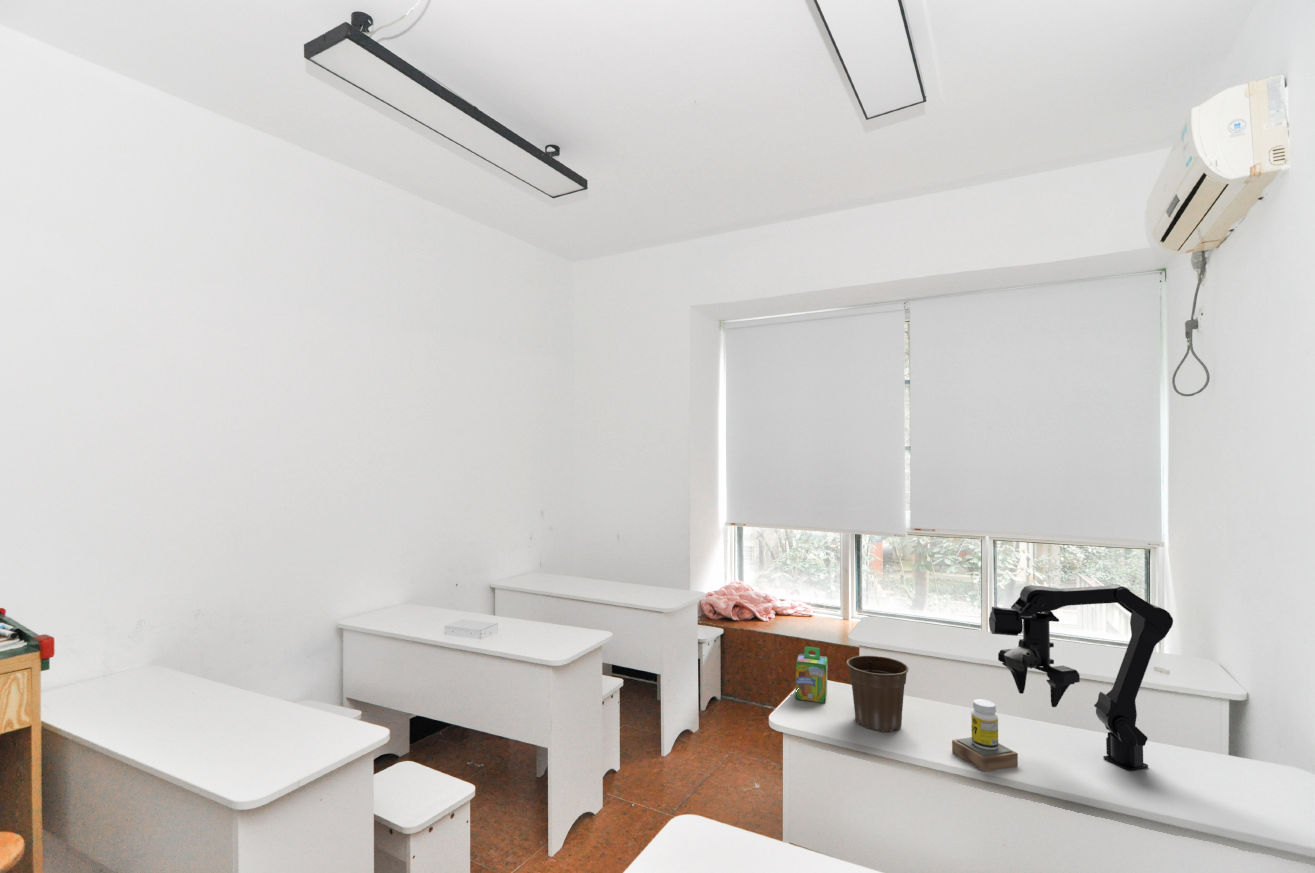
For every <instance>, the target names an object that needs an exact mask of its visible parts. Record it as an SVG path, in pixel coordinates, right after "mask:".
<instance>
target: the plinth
mask: <svg viewBox="0 0 1315 873" xmlns="http://www.w3.org/2000/svg"><path fill="white" fill-rule="evenodd" d="M951 747H952V748H951V753H953V754H954V755H956V756H957V757H959V756H960V757H959V758H961V759H963V760H965V761H966V762H968V763H969V764H971V765H972V766H974V767H976V768H978V769H980V770H981V771H982V772H984V773H985V772H991V771H996V770H1001V769H1002V770H1003V769H1009V768H1015V767H1019V765H1018V764H1019V762H1018V761H1019V756H1018V753H1017V752H1016V751H1014V750H1012V749H1010V747H1007V746H1005V745H1003V744H1001V743H999V742H998V748H997V749H995V750H986V749H982V748H979V747H977V746H975V745H974V744H973V743H972V736H970V737H963V738H955V739H952V740H951ZM1008 767H1009V768H1008Z"/></svg>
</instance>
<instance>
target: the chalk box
mask: <svg viewBox="0 0 1315 873" xmlns="http://www.w3.org/2000/svg"><path fill="white" fill-rule="evenodd" d="M811 651H812V652H815V654H810V653H809V652H811ZM828 660H829V658H828V657H827V656H823V655H821V649H820V647H817V646H816V647H815V646H804V652H803V653H798V656H797V660H796V661H795V662H796V663H795V691H796V690H797V689H798V688H799V689H798V690H797V692H795V694H794V698H795V700H801V701H808V702H809V701H810V702H814V703H820V704H826V703H827V696H828V695H827V694H828Z"/></svg>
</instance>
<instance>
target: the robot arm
mask: <svg viewBox="0 0 1315 873" xmlns="http://www.w3.org/2000/svg"><path fill="white" fill-rule="evenodd" d="M1102 604H1118V605H1119V606H1121V607H1122V608H1123V609H1125V610H1126V611H1127V612H1129V614H1130V619H1129V620H1130V621H1129V625H1130V633H1131V636H1130V638H1129V639H1130V640H1129V642H1128V645H1127V648H1126V651H1125V653H1124V656H1123V659H1122V662H1121V664H1120V667H1119V670H1118V673H1117V675H1116V678H1115V680H1114V684H1113V686H1112V688H1111V690H1110V691H1108V692H1107V693H1105V692H1102V691H1100V692H1099V693H1098V697H1097V698H1098V699H1097V701H1096V703H1095V704H1094V705H1093V706H1094V707H1095V715H1096V716H1097V718H1098V720H1099V721H1100V722H1101V723H1102V724H1104V726H1105V729H1106V730H1107V731H1108V732H1107V737H1106V738H1105V741H1106V742H1105V743H1106V746H1105V747H1106V749H1105V750H1106V751H1105V752H1106V755H1104V756H1102V757H1103V759H1104V760H1106V761H1108V762H1110V763H1113V764H1115V765H1116V766H1119V767H1120V768H1123V769H1126V771H1127V770H1128V771H1135V770H1141V769H1147V768H1149V764H1147V763H1145V762H1144V746H1145V745H1146V744H1147V741H1148V736H1147V735H1146V734H1144V732H1143V731H1141V729H1139V728H1138V727H1137V726H1136V724H1137V723H1136V722H1137V716H1138V712H1137V705H1136V704H1137V703H1136V698H1137V696H1138V693H1139V691H1140V689H1141V685H1142V682H1143V680H1144V677H1145V674H1146V672H1147V669H1148V666H1149V663H1150V660H1151V658H1152V655H1153V652H1154V650H1155V647H1156V646H1157V644H1158V643H1160V642H1161V641H1162V640H1163V639H1165V638H1166V637H1167V635H1168V633H1169V632H1170V630H1171V628H1172V626H1173V624H1174V619H1173V618H1174V617H1172V614H1170V612H1169V611H1168V610H1166V609H1164V608H1162V607H1159V606H1157V605H1155V604H1152V603H1149V602H1148V601H1146V600H1144V599H1143V598H1141V597H1140V596H1138V595H1136V594H1135V593H1134V592H1132V591H1131V590H1130V589H1129V587H1128V588H1127V587H1125V586H1122V585H1121V584H1120V585H1119V584H1116V583H1114V584H1110V585H1097V586H1083V587H1082V586H1080V587H1068V588H1066V587H1065V588H1058V587H1057V588H1056V587H1051V586H1050V587H1048V586H1045V585H1044V586H1043V585H1031V584H1030V585H1026V586H1024V587H1023V588H1022V589H1021V591H1020V593H1019V597H1018V598H1017V599H1016V600H1015V602H1013V604H1012V605H1011V607H1010V608H1005V607H999V606H992V607H991V611H990V613H989V617H988V626H989V631H990V633H991V634H992V635H1003V636H1016V637H1017V636H1018V635H1019V634H1020V635H1021V634H1022V633H1023V636H1022V639H1019V641H1018V646H1017V647H1014V648H1008V649H1006V648H1005V649H1000V651H999V652H998V653H997V656H998V657H997V660H998V662H1001V663H1002V665H1003V666H1004V667H1005V668H1007V669H1008V670H1009V671H1010V673H1011V675H1012V678H1013V680H1014V683H1015V686H1016V688H1017V691H1018V693H1019V694H1020V695H1021V694H1022V695H1023V694H1024V693H1025V690H1026V682H1027V674H1028V669H1031V670H1032V669H1035V670H1038V671H1041V672H1043V673H1046V676H1047V677H1048V679H1046V682H1047V683H1048V685H1049V687H1050V688H1049V689H1050V705H1051V707H1052V708H1056V707H1058V705H1059V703H1060V702H1061V701H1060V700H1061V699H1062V698H1063V696H1064V694H1065V693H1066V691H1067V690H1068V688H1070V685H1075V683H1080V681H1081V680H1080V673H1079V671H1078V670H1077V669H1074V668H1072V667H1069V666H1066V665H1056V666H1052V665H1054V664H1055V659H1053V658H1051V648H1054V647H1055V646H1054V645H1055V644H1054V642H1051V640H1050V639H1051V638H1050V635H1051V634H1050V622H1054V623H1055V622H1056V623H1058V622H1059V621H1060V619H1059V618H1058V617H1057V616H1056V615H1054V613H1053V611H1057V610H1058V609H1061V608H1064V607H1067V606H1069V607H1070V606H1080V605H1081V606H1083V605H1084V606H1085V605H1086V606H1087V605H1102Z"/></svg>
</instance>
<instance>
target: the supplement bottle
mask: <svg viewBox="0 0 1315 873" xmlns="http://www.w3.org/2000/svg"><path fill="white" fill-rule="evenodd" d="M996 705H997V704H995V703H994V702H993V701H990V700H988V699H980V698H979V699H978V698H977V699H976V698H975V699H973V701H972V707H973V709H972V711H971V715H970V716H971V737H972V743H973V744H974V745H975V746H977V747H979V748H982V749H986V750H995V749H997V748H998V743H999V716H998V714H997V713H996V712H997V706H996Z"/></svg>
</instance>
